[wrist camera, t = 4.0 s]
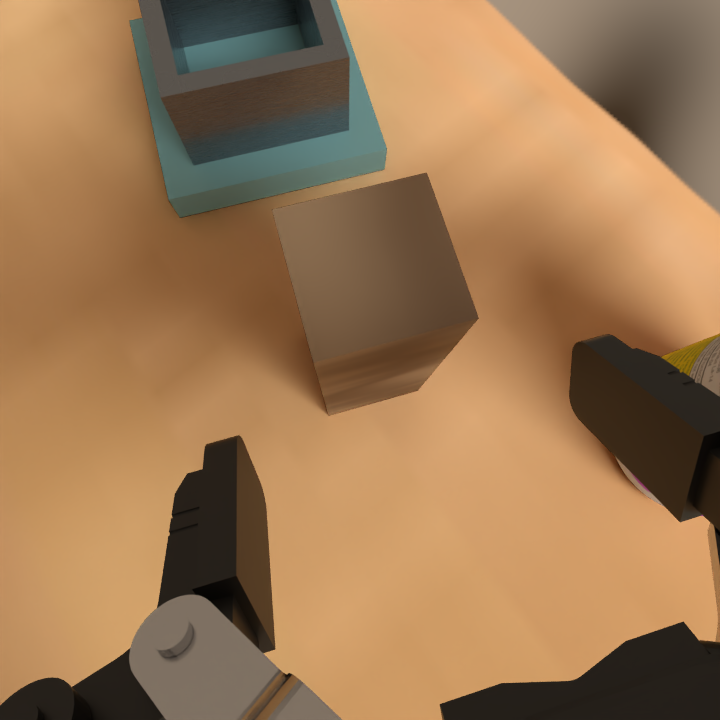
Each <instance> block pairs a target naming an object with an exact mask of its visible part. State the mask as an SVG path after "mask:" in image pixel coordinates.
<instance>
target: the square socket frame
mask: <svg viewBox="0 0 720 720" xmlns="http://www.w3.org/2000/svg"><path fill="white" fill-rule="evenodd" d="M138 1H139V5H140V10H141V14H142V19H143V23H144V27H145V32H146V36H147V41H148V45H149V50H150V54H151V58H152V63H153V67H154V72H155V76H156V80H157V85H158V89H159V94H160V98H161V100H162V102H163V104H164V106H165V108H166V110H167V112H168V114H169V116H170V118H171V120H172V122H173V124H174V126H175V128H176V130H177V132H178V134H179V136H180V138H181V140H182V142H183V145H184V147H185V149H186V151H187V153H188V155H189V157H190V159H191V161H192V163H193V165H199V164H203V163H207V162H212V161H216V160H221V159H225V158H229V157H234V156H238V155H243V154H247V153H251V152H256V151H260V150H265V149H269V148H273V147H278V146H282V145H287V144H291V143H295V142H300V141H304V140H309V139H313V138H317V137H322V136H326V135H331V134H335V133H339V132H344V131H348V130H349V78H350V57H349V54H348V51H347V48H346V45H345V42H344V39H343V36H342V33H341V30H340V27H339V24H338V21H337V18H336V15H335V12H334V9H333V6H332V3H331V0H138ZM297 24H298V26H299V30H300V33H301V36H302V39H303V42H304V45H305V49H301V50H296V51H291V52H286V53H282V54H277V55H272V56H267V57H263V58H258V59H253V60H248V61H244V62H239V63H234V64H229V65H225V66H220V67H215V68H210V69H205V70H201V71H196V72H191V73H190V72H189V68H188V64H187V60H186V55H185V51H184V47H189V46H194V45H199V44H204V43H209V42H214V41H219V40H223V39H228V38H233V37H238V36H243V35H248V34H253V33H258V32H262V31H267V30H272V29H277V28H282V27H287V26H292V25H297Z"/></svg>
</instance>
